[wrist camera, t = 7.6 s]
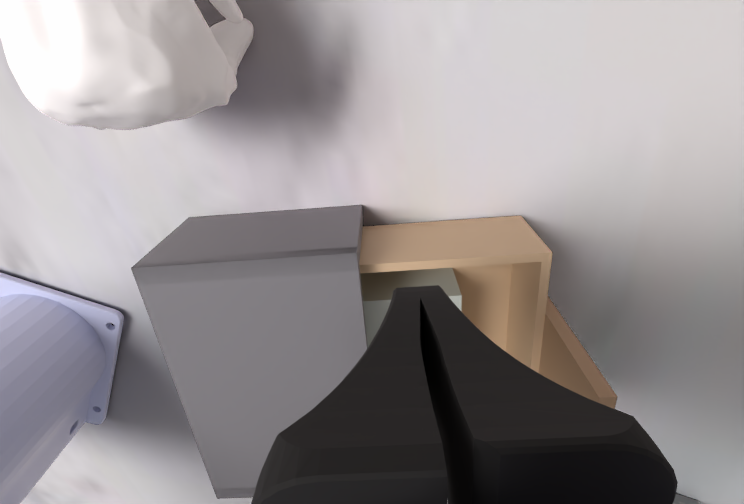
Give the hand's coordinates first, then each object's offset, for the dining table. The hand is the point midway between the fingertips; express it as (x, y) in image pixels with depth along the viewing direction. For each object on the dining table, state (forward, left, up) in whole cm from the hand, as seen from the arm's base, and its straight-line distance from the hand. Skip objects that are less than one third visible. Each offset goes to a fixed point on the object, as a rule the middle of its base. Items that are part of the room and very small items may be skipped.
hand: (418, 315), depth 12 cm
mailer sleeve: (-9, +3, -10) cm, 14 cm away
